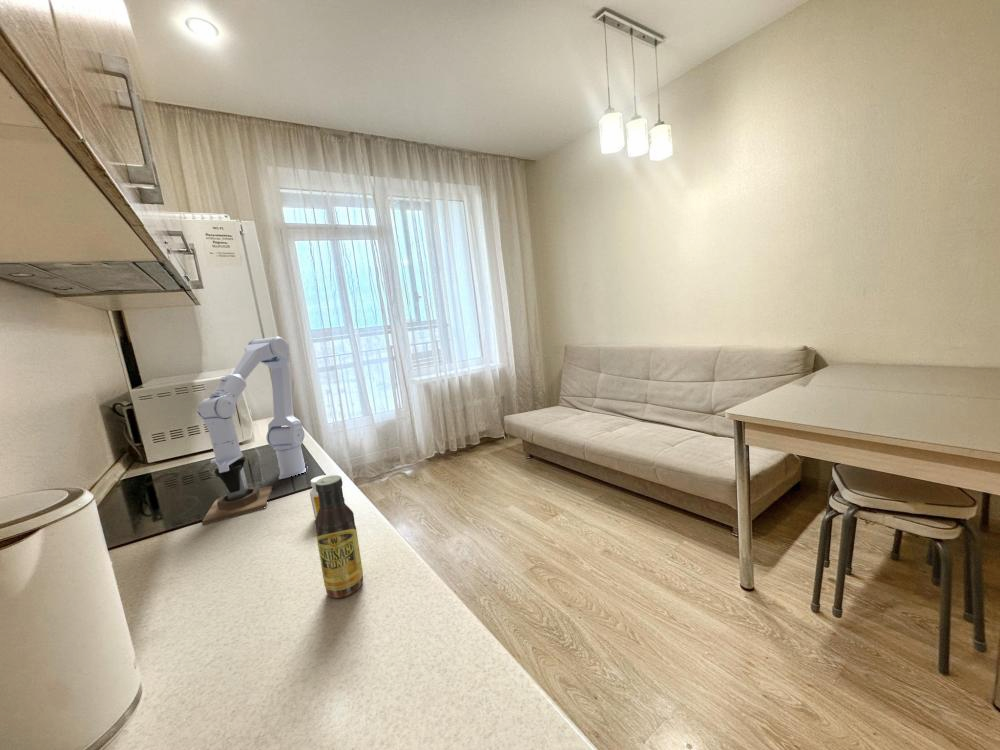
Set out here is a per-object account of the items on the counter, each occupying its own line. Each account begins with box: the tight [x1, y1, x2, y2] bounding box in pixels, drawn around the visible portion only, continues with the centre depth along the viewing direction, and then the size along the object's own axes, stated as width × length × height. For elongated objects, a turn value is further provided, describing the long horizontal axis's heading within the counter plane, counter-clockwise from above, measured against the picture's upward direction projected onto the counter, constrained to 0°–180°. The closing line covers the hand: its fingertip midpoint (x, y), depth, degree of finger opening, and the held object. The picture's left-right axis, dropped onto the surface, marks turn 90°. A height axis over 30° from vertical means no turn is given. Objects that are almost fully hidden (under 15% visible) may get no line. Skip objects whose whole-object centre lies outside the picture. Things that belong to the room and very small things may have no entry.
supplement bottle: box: [309, 474, 328, 520], centre depth 94 cm, size 5×5×10 cm
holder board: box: [201, 484, 274, 526], centre depth 107 cm, size 14×14×3 cm
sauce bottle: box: [314, 474, 364, 599], centre depth 66 cm, size 7×6×20 cm
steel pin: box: [224, 466, 249, 502], centre depth 106 cm, size 4×4×8 cm
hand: (236, 488), depth 106 cm, fingers closed on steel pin, 4 cm apart
